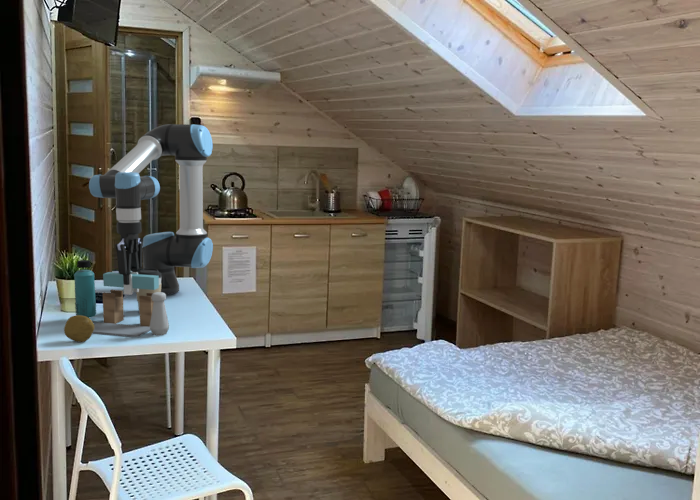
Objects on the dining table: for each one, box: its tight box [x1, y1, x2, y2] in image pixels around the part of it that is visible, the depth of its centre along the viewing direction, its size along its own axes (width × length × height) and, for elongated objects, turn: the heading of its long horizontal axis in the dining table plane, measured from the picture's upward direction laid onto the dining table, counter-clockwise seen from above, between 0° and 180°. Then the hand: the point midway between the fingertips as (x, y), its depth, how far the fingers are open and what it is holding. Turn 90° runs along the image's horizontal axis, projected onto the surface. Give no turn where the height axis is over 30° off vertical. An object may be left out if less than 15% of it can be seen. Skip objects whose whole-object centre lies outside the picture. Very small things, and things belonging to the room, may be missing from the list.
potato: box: [63, 314, 94, 343], centre depth 208 cm, size 7×8×8 cm
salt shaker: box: [150, 292, 170, 337], centre depth 217 cm, size 6×6×13 cm
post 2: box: [139, 293, 154, 327], centre depth 227 cm, size 5×4×10 cm
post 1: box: [102, 289, 125, 324], centre depth 230 cm, size 5×4×10 cm
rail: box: [102, 271, 159, 290], centre depth 227 cm, size 3×18×4 cm, turn 77°
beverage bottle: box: [73, 259, 97, 319], centre depth 230 cm, size 6×7×20 cm
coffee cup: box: [135, 268, 162, 314], centre depth 243 cm, size 9×9×15 cm
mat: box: [92, 321, 151, 338], centre depth 221 cm, size 10×20×1 cm, turn 77°
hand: (131, 292), depth 228 cm, fingers closed on rail, 3 cm apart
